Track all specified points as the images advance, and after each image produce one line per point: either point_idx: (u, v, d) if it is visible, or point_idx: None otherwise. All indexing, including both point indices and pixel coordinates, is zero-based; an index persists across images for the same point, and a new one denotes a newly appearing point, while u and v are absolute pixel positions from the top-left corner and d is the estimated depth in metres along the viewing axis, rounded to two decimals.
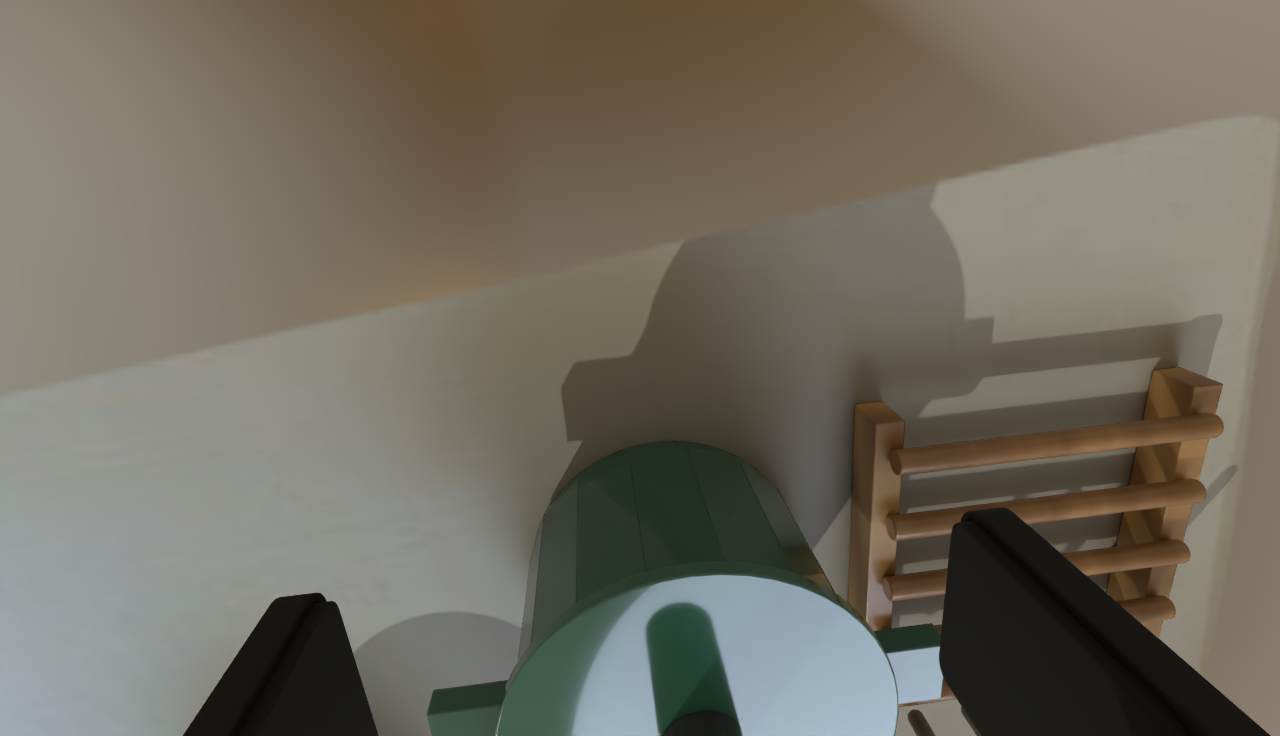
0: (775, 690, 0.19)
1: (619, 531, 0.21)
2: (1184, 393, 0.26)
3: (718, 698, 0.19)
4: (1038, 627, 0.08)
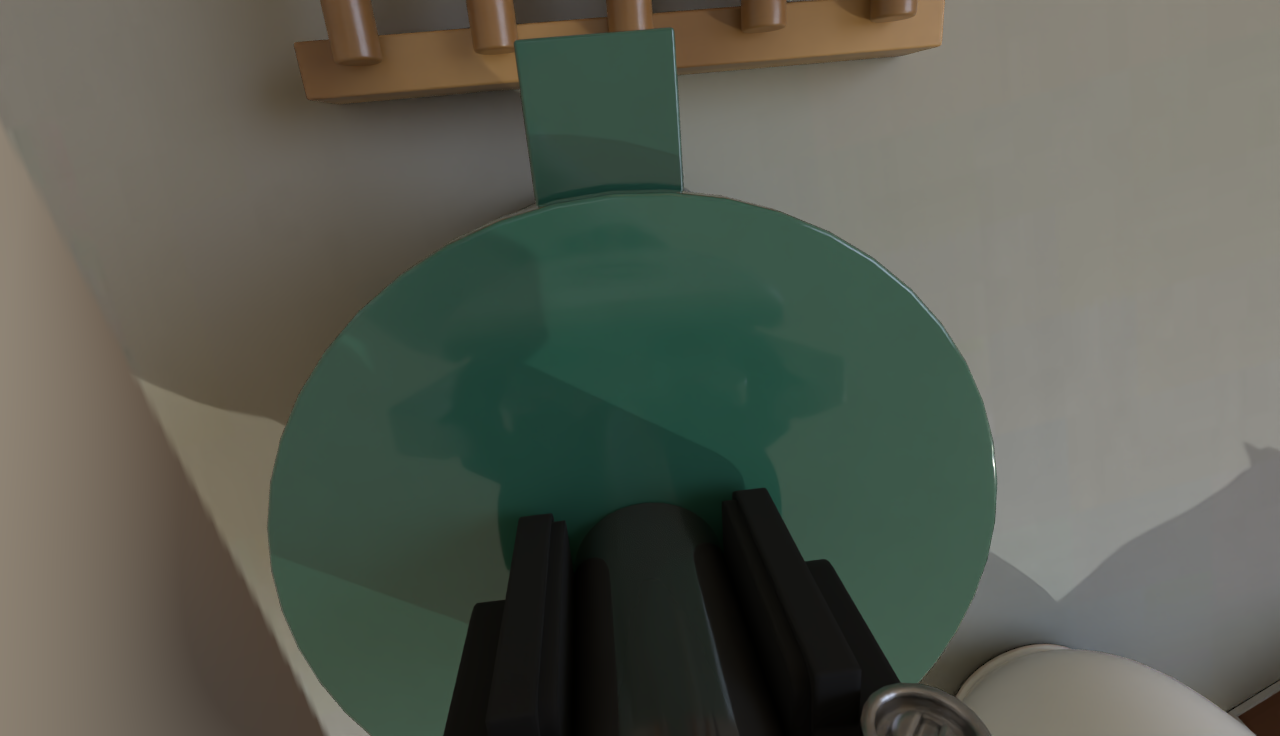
0: (532, 457, 0.10)
1: None
2: None
3: None
4: (750, 589, 0.09)
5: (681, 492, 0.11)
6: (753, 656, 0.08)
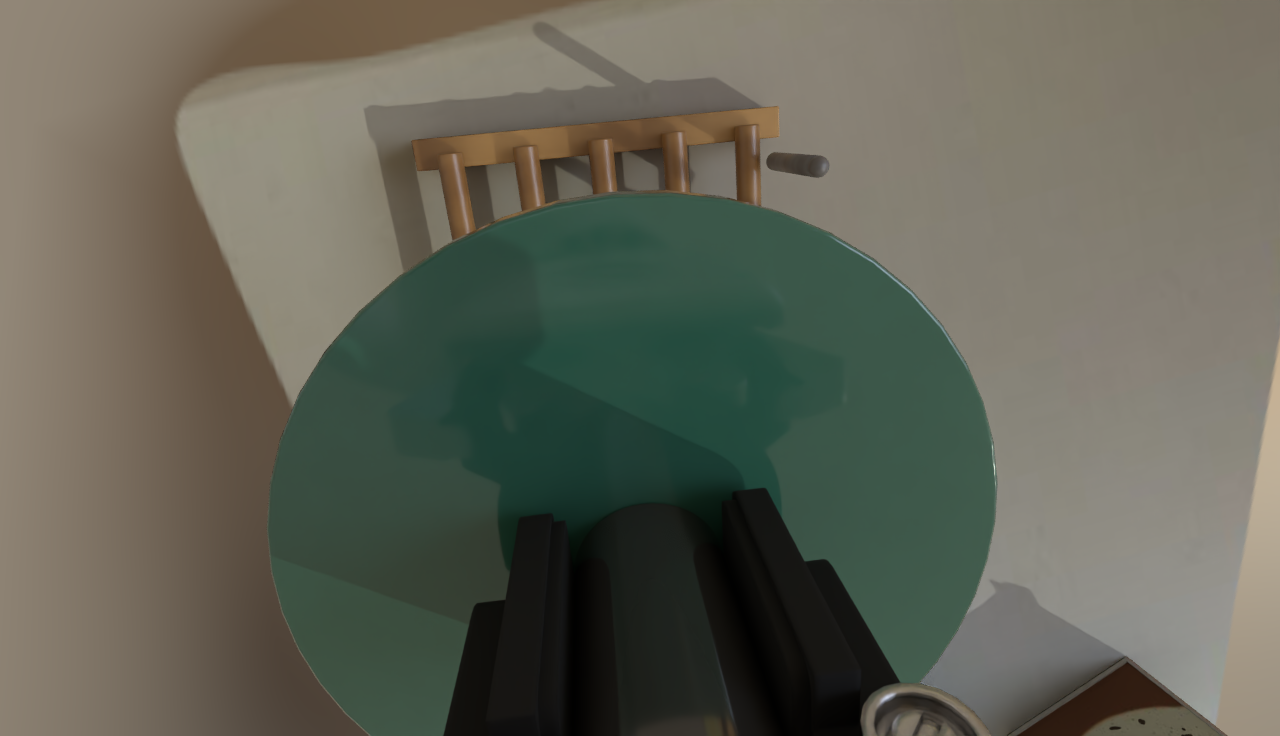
0: (532, 458, 0.10)
1: None
2: None
3: None
4: (750, 589, 0.09)
5: (681, 493, 0.11)
6: (753, 657, 0.08)
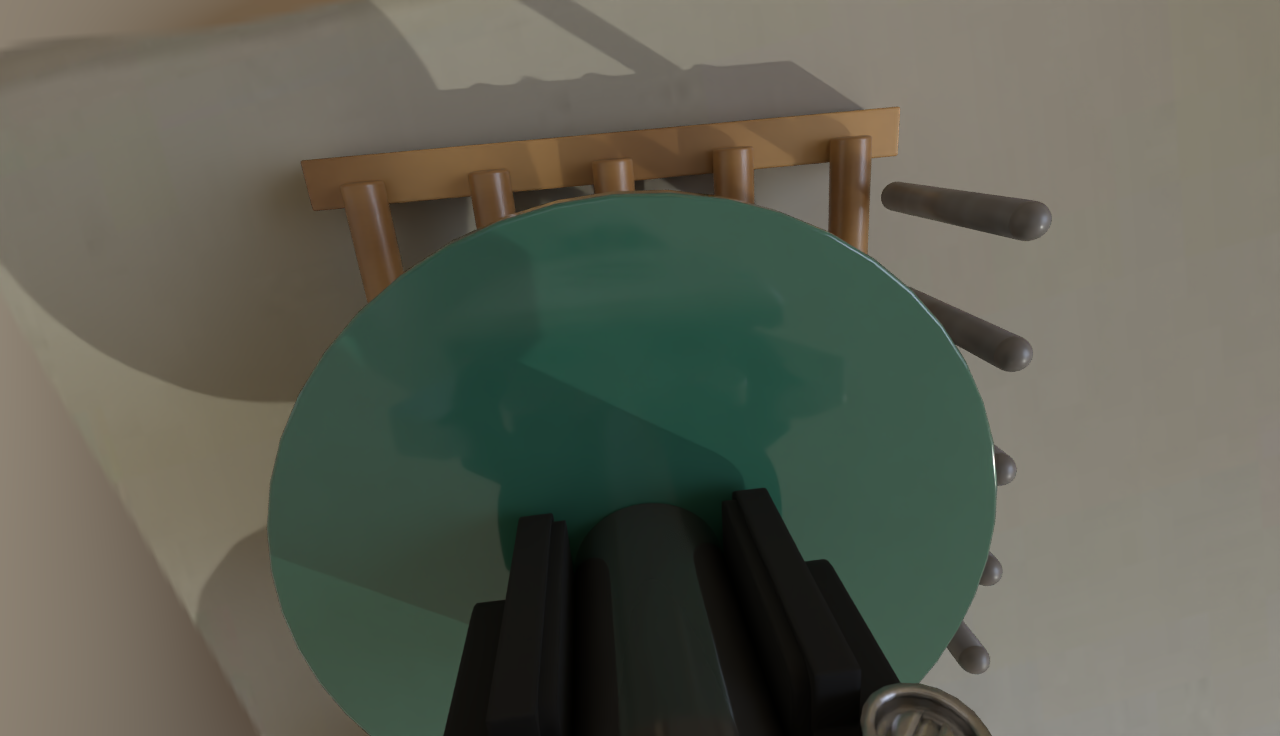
0: (532, 458, 0.10)
1: None
2: None
3: None
4: (750, 589, 0.09)
5: (681, 493, 0.11)
6: (753, 657, 0.08)
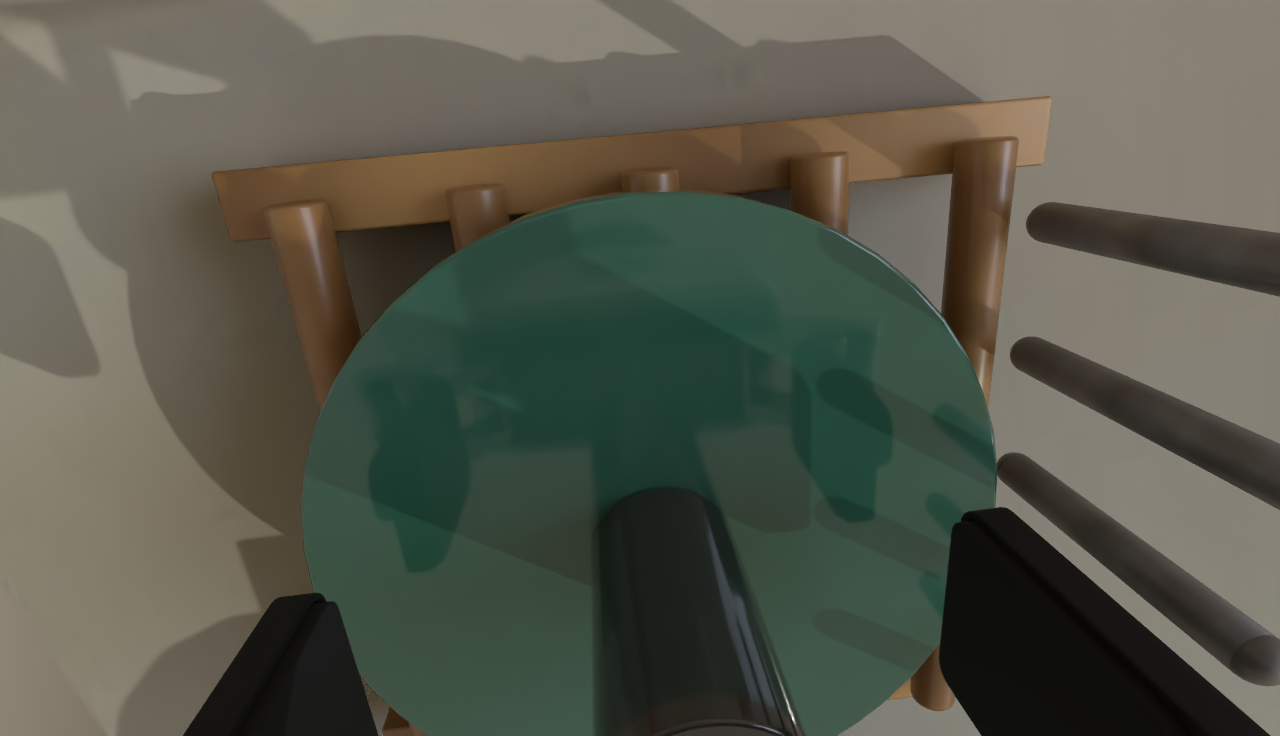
0: (552, 444, 0.11)
1: None
2: None
3: (566, 531, 0.11)
4: (1038, 627, 0.08)
5: (694, 478, 0.11)
6: (763, 629, 0.09)
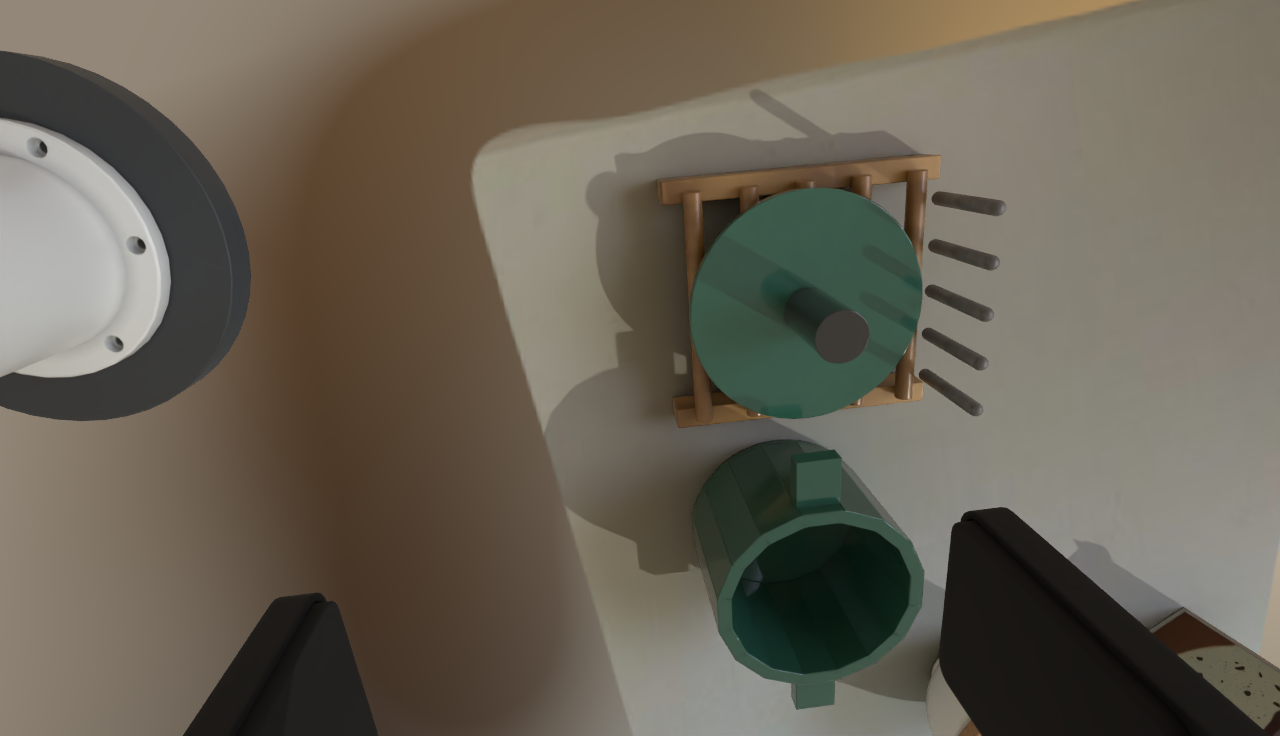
0: (776, 270, 0.33)
1: None
2: (670, 203, 0.34)
3: (776, 303, 0.33)
4: (1038, 627, 0.08)
5: (820, 283, 0.33)
6: None
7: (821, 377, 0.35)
